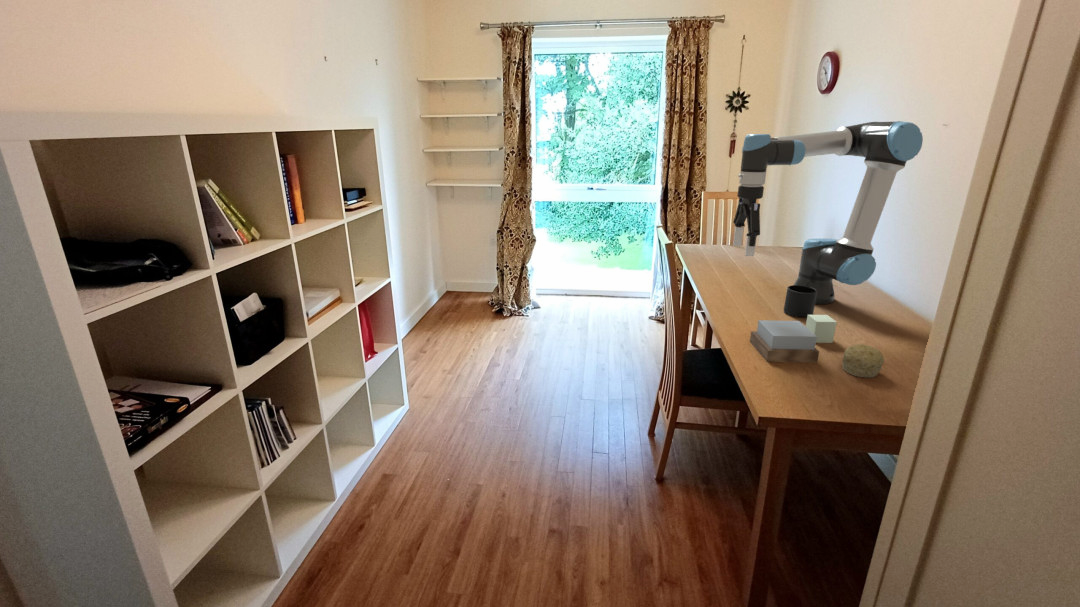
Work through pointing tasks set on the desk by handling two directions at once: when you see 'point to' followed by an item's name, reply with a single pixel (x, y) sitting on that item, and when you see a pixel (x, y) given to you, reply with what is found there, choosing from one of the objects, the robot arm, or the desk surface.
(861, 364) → the decorative item
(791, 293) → the mug
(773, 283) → the desk surface
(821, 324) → the block
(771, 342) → the top slab
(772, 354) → the bottom slab
